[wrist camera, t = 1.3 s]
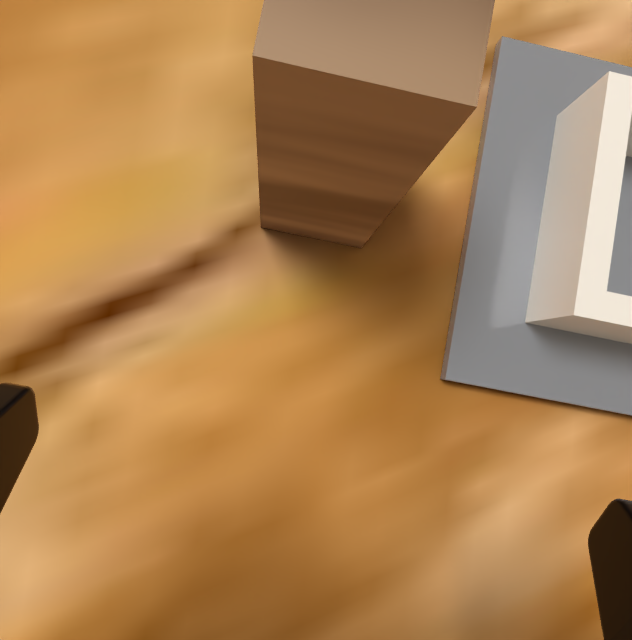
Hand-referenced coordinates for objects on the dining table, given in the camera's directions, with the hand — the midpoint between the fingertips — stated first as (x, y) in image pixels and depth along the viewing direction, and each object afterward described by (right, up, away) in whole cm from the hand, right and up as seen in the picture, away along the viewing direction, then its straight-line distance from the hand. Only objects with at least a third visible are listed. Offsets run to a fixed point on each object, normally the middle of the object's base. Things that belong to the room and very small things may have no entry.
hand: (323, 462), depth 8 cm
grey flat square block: (+13, +5, +14) cm, 20 cm away
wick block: (0, +7, +13) cm, 15 cm away
